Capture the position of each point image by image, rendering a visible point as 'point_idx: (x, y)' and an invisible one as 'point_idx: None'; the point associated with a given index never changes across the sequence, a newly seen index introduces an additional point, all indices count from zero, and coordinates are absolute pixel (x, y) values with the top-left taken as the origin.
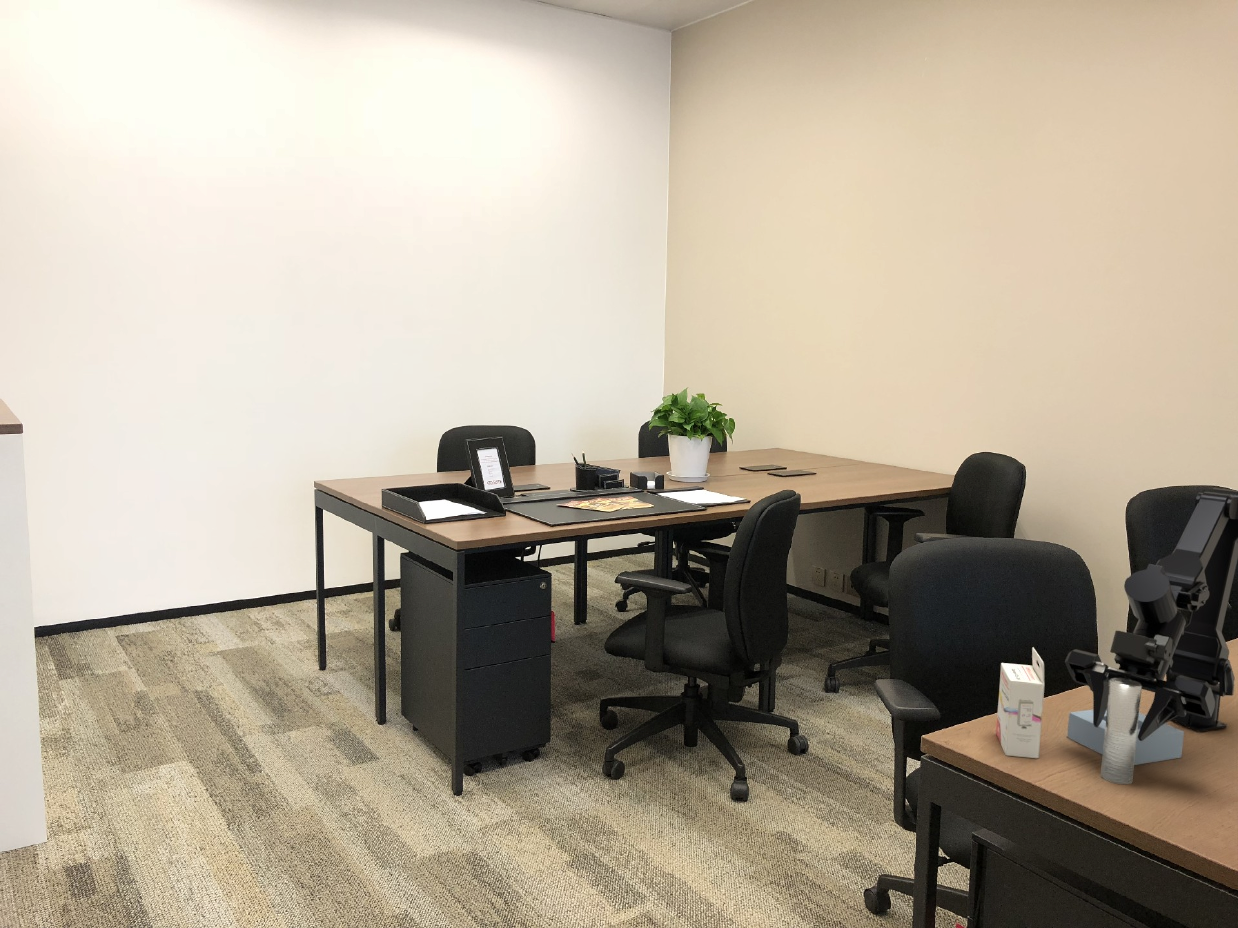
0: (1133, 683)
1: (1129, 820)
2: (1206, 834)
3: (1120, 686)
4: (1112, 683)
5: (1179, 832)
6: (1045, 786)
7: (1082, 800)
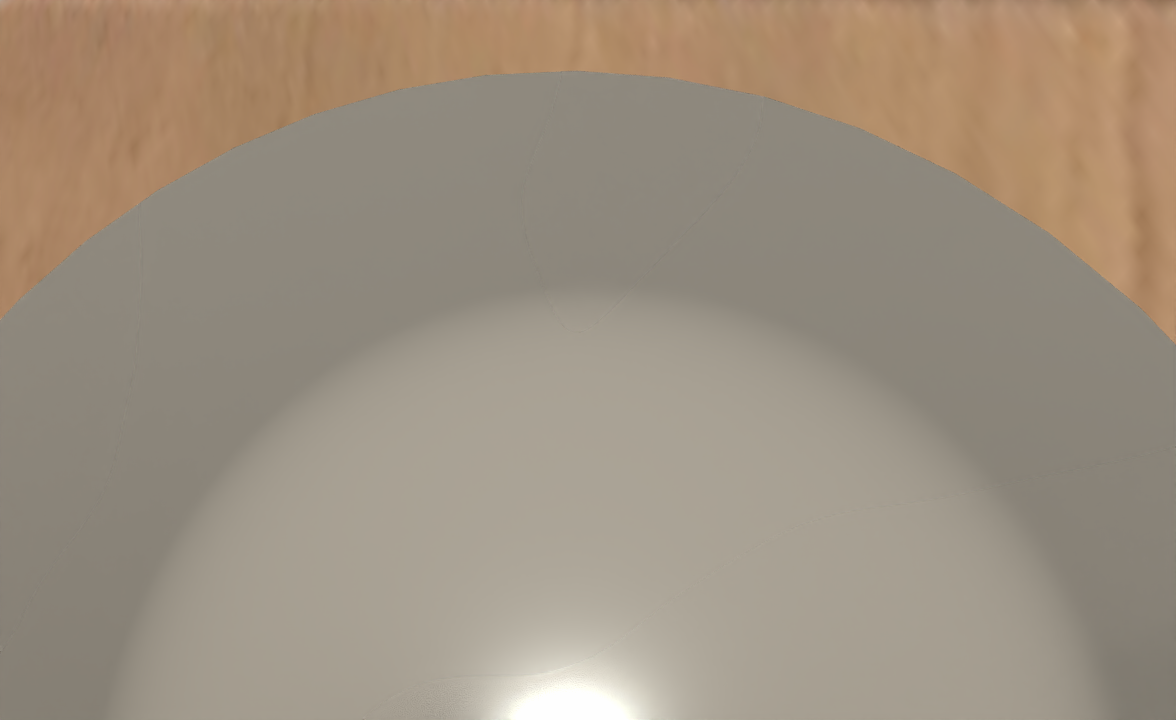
0: None
1: (432, 39)
2: (70, 240)
3: (483, 98)
4: (920, 172)
5: (186, 137)
6: (1038, 30)
7: (746, 47)
